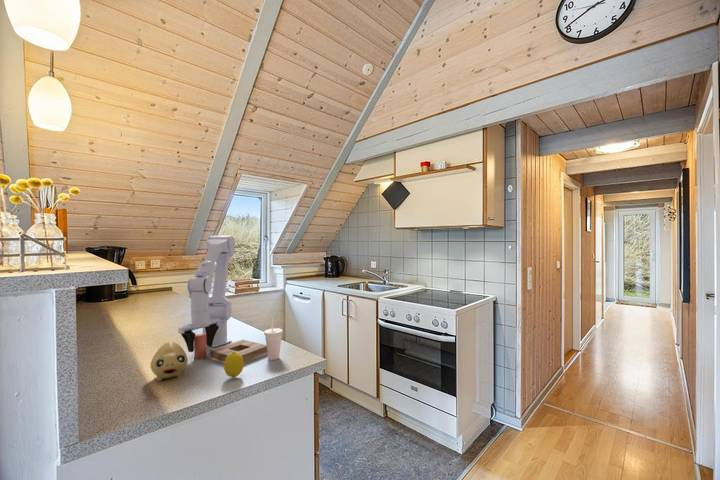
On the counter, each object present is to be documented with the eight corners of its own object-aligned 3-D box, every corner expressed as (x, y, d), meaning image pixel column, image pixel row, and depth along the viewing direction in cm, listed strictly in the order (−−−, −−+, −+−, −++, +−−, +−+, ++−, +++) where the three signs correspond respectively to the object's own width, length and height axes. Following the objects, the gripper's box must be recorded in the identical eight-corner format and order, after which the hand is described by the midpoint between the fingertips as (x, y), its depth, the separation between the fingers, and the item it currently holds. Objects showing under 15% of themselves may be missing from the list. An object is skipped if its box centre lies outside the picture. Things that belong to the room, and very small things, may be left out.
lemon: (232, 383, 95) (231, 356, 94) (220, 379, 97) (220, 352, 97) (247, 376, 99) (247, 350, 99) (236, 372, 102) (235, 347, 102)
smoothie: (260, 359, 113) (260, 319, 113) (273, 353, 119) (272, 315, 119) (274, 362, 110) (274, 321, 110) (286, 356, 116) (286, 317, 116)
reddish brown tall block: (191, 358, 115) (191, 335, 115) (202, 354, 118) (202, 333, 118) (198, 360, 113) (198, 337, 113) (209, 356, 116) (208, 334, 116)
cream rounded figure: (150, 390, 91) (149, 352, 91) (150, 375, 101) (150, 341, 101) (189, 381, 96) (189, 345, 96) (186, 368, 106) (186, 335, 106)
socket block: (209, 358, 114) (209, 350, 114) (242, 347, 126) (242, 339, 126) (235, 366, 107) (235, 357, 107) (268, 353, 119) (268, 345, 119)
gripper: (186, 316, 107) (187, 357, 107) (225, 307, 120) (225, 344, 120) (174, 313, 111) (175, 353, 111) (213, 305, 123) (213, 341, 123)
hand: (200, 348), depth 116 cm, fingers open, 6 cm apart
